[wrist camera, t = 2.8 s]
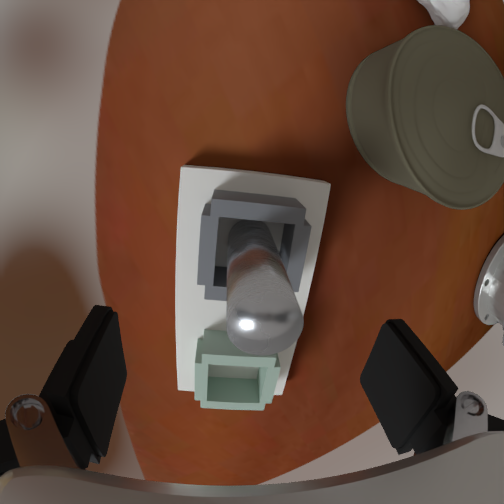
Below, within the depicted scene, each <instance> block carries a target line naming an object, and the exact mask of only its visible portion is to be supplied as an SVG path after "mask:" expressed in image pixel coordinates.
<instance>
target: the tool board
mask: <svg viewBox="0 0 504 504" xmlns="http://www.w3.org/2000/svg"><path fill="white" fill-rule="evenodd" d="M330 187H331V184H330V183H328V182H326V181H322V180H316V179H310V178H303V177H296V176H289V175H281V174H273V173H265V172H257V171H248V170H239V169H229V168H218V167H206V166H193V165H183V166H182V167H181V172H180V185H179V200H178V218H177V242H176V288H175V311H176V357H177V379H178V390H185V391H195V400H201V408H214V409H233V410H264V407H265V403H271V402H272V399H273V395H282V393H283V390H284V386H285V383H286V379H287V376H288V372H289V369H290V365H291V361H292V358H293V354H294V350H295V346H296V343H297V340H296V341H295V342H294V343H293V344H292V345H291V346H290V347H288V348H287V349H285V350H283V351H281V352H279V353H276V354H272V355H264V356H260V355H252V354H248V353H246V352H243V351H241V350H240V349H238V348H237V347H236V346H235V345H234V344H233V343H232V342H231V341H230V339H229V337H228V334H227V329H226V306H227V250H228V234H229V231H230V229H231V228H232V226H233V225H234V224H236V223H237V222H238V221H240V220H243V219H247V220H257V221H262V222H263V223H265V224H266V225H267V227H268V228H269V230H270V232H271V234H272V237H273V240H274V242H275V245H276V247H277V250H278V252H279V255H280V257H281V260H282V262H283V265H284V267H285V270H286V273H287V275H288V278H289V280H290V283H291V286H292V288H293V291H294V293H295V296H296V299H297V301H298V304H299V306H300V309H301V312H302V315H304V311H305V307H306V303H307V299H308V294H309V290H310V286H311V281H312V277H313V273H314V268H315V263H316V259H317V254H318V249H319V244H320V240H321V235H322V230H323V225H324V219H325V214H326V209H327V203H328V198H329V192H330Z"/></svg>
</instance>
